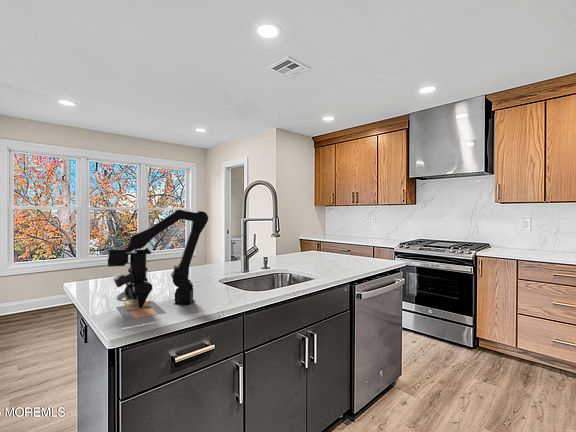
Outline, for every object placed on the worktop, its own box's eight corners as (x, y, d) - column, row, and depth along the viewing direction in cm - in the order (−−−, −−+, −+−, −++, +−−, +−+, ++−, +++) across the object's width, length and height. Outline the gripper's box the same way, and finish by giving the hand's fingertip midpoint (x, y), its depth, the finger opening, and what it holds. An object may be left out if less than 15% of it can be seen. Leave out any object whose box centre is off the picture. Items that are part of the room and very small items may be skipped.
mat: (153, 302, 131) (153, 300, 131) (166, 313, 117) (166, 312, 117) (115, 307, 123) (115, 306, 123) (125, 321, 109) (125, 320, 109)
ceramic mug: (143, 294, 142) (143, 277, 142) (144, 299, 135) (143, 281, 135) (117, 297, 138) (117, 280, 138) (116, 302, 131) (115, 284, 130)
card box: (147, 303, 128) (147, 297, 128) (151, 306, 124) (151, 300, 124) (124, 306, 123) (124, 300, 123) (127, 310, 119) (127, 304, 119)
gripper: (111, 263, 126) (110, 302, 126) (119, 271, 111) (119, 315, 111) (141, 261, 133) (140, 297, 133) (152, 268, 118) (152, 309, 118)
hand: (137, 304), depth 124 cm, fingers open, 9 cm apart
